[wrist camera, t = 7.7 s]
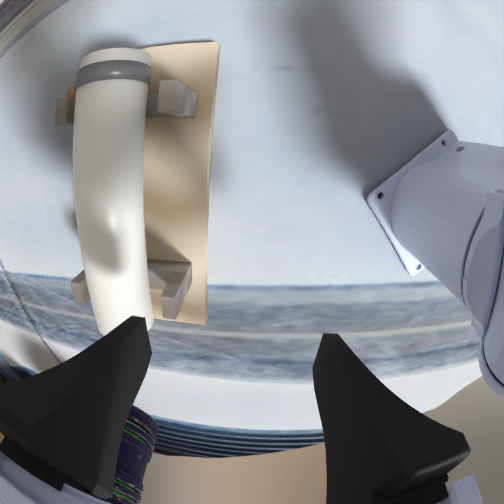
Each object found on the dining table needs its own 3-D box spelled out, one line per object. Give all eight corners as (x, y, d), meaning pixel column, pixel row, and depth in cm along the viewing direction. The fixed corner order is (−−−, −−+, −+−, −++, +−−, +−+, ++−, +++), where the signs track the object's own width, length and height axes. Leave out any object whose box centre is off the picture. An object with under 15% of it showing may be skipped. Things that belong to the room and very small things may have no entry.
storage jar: (173, 435, 30) (153, 524, 16) (126, 435, 32) (102, 509, 18) (126, 393, 26) (86, 495, 13) (82, 397, 28) (44, 476, 14)
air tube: (166, 313, 18) (132, 349, 14) (120, 298, 18) (85, 327, 15) (167, 59, 11) (119, 41, 8) (114, 72, 12) (64, 63, 9)
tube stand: (99, 61, 13) (55, 45, 8) (220, 47, 13) (205, 12, 8) (108, 303, 21) (78, 341, 16) (207, 317, 21) (194, 366, 16)
